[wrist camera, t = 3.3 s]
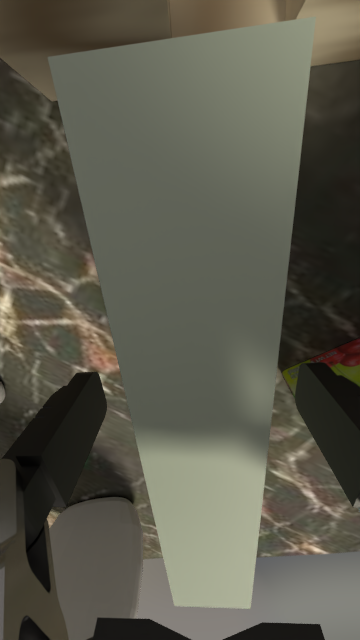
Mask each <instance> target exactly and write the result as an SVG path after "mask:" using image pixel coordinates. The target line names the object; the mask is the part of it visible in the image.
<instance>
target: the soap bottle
mask: <svg viewBox="0 0 360 640" xmlns="http://www.w3.org/2000/svg"><path fill="white" fill-rule="evenodd" d="M49 533H50V541H51V549H52V557H53V565H54V573H55V581H56V589H57V595H58V600H59V604H60V607H61V610H62V613H63V616H64V619H65V623H66V627H67V632H68V638H69V640H87V639H88V638H91V637H93V635H94V630H95V626H96V622H97V617H100V618H132V619H136V618H137V612H138V604H139V596H140V588H141V580H142V572H143V531H142V528H141V524H140V520H139V517H138V513H137V510H136V509H135V507H134V506H133V504H132V503H131V502H130V501H129V500H127V499H125V498H122V497H107V498H99V499H93V500H88V501H84V502H81V503H77V504H75V505H72V506H70V507H68V508H67V509H65V510H64V511H63V512H62V513H61V514H59V516H58V517H57V519H56V520H55V522H54V523H53V525H52V526H51V527H50V528H49Z"/></svg>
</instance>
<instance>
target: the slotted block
mask: <svg viewBox="0 0 360 640" xmlns="http://www.w3.org/2000/svg"><path fill="white" fill-rule="evenodd" d="M309 17H316V21H315V30H314V39H313V48H312V57H311V66H317V65H324V64H332V63H339V62H346V61H354V60H360V0H0V58H1V59H2V60H3V61H5V62H6V63H7V64H8V65H9V66H10V67H12V68H13V69H14V70H15V71H16V72H18V73H19V74H20V75H21V76H22V77H23V78H25V79H26V80H27V81H28V82H29V83H31V84H32V85H33V86H34V87H35V88H36V89H38V90H39V91H40V92H41V93H42V94H44V95H45V96H46V97H47V98H48V99H49V100H51V101H58V100H57V96H56V92H55V87H54V83H53V79H52V74H51V70H50V66H49V61H48V57H51V56H57V55H64V54H71V53H77V52H84V51H90V50H97V49H104V48H110V47H117V46H124V45H130V44H137V43H143V42H150V41H157V40H163V39H170V38H177V37H183V36H190V35H196V34H203V33H210V32H216V31H223V30H230V29H236V28H243V27H249V26H256V25H263V24H269V23H276V22H283V21H289V20H296V19H302V18H309Z"/></svg>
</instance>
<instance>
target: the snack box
mask: <svg viewBox="0 0 360 640" xmlns="http://www.w3.org/2000/svg"><path fill="white" fill-rule="evenodd" d="M315 362H324V363H326V364H327V365H328V366H329V367H330V368H331V369H332V370H333V371H334V372H335V373H336V374H337V375H342V376H344V377H345V378H347V379H349V380H351V381H352V382H354V383H356V384H357V385H358V386H359V387H360V338H358V339H356V340H353V341H351V342H349V343H346V344H344V345H342V346H339V347H337V348H335V349H332V350H330V351H328V352H325V353H323V354H321V355H318V356H316V357H314V358H312V359H309V360H307V361H305V362H302V363H315ZM302 363H300V364H297V365H295V366H293V367H291V368H288V369H286V370H284V371H283V372H282V375H283V378H284V380H285V381H286V383H287V385H288V387H289V389H290V391H291V392H292V394H293V396H294V398H295V391H296V385H297V378H298V372H299V367H300V365H301V364H302ZM357 508H358V510H359V512H360V507H357Z"/></svg>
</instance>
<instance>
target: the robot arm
mask: <svg viewBox="0 0 360 640" xmlns="http://www.w3.org/2000/svg"><path fill="white" fill-rule="evenodd" d="M295 402H296V406H297V409H298V411H299V413H300V415H301V416H302V418H303V420H304V422H305V424H306V425H307V427H308V429H309V431H310V432H311V434H312V436H313V438H314V439H315V441H316V443H317V445H318V446H319V448H320V450H321V452H322V453H323V455H324V457H325V459H326V460H327V462H328V464H329V466H330V467H331V469H332V471H333V473H334V474H335V476H336V478H337V480H338V481H339V483H340V485H341V487H342V489H343V490H344V492H345V494H346V496H347V497H348V499H349V501H350V503H351V504H352V506H353V507H360V387H359V386H358V385H357V384H356V383H354V382H352V381H351V380H349V379H347V378H345V377H344V376H342V375H337V374H336V373H335V372H334V371H333V370H332V369H331V368H330V367H329V366H328V365H327V364H326V363H324V362H315V363H302V364H301V365H300V367H299V372H298V378H297V385H296V391H295ZM106 410H107V402H106V398H105V394H104V390H103V387H102V383H101V380H100V376H99V374H98V373H97V372H82V373H76V374H75V375H74V377H73V378H72V380H71V381H70V382H69V384H68V385H67V386H63V387H62V388H60V389H59V390H58V391H57V392H55V393H54V394H53V395H51V397H50V398H49V399H48V400H47V402H46V403H45V404H44V406H43V409H40V411H39V412H38V413H37V415H36V417H35V418H33V420H32V421H31V422H30V423H29V425H28V426H27V427H26V429H25V430H24V431H23V432H22V434H21V435H20V436H19V437H18V439H17V440H16V441H15V443H14V444H13V445H12V446H11V448H10V449H9V450H8V452H7V453H6V454H5V455H4V457H3V458H2V459H0V640H69V638H68V632H67V627H66V623H65V619H64V616H63V613H62V610H61V607H60V604H59V600H58V595H57V589H56V581H55V573H54V565H53V557H52V549H51V541H50V533H49V525H48V521H47V517H48V515H49V512H50V510H51V508H52V507H66V506H67V504H68V502H69V499H70V497H71V495H72V492H73V490H74V488H75V485H76V483H77V481H78V478H79V476H80V474H81V471H82V469H83V467H84V464H85V462H86V460H87V457H88V455H89V453H90V450H91V448H92V446H93V443H94V441H95V439H96V436H97V434H98V432H99V429H100V427H101V425H102V422H103V420H104V418H105V415H106ZM87 640H191V639H189V638H187V637H185V636H183V635H181V634H179V633H177V632H175V631H173V630H171V629H168V628H167V627H164V626H162V625H160V624H158V623H156V622H154V621H152V620H150V619H132V618H100V617H97V622H96V626H95V630H94V635H93V637H91V638H88V639H87ZM223 640H325V639H324V636H323V633H322V630H321V626H320V624H291V623H260V624H258V625H256V626H253V627H251V628H249V629H246V630H244V631H242V632H239V633H237V634H235V635H232V636H230V637H228V638H226V639H223Z"/></svg>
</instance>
